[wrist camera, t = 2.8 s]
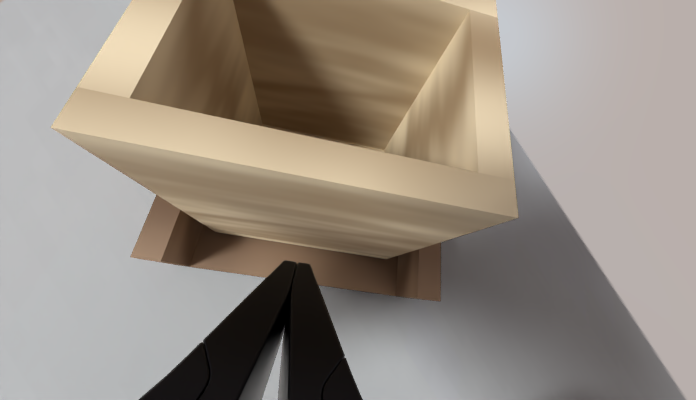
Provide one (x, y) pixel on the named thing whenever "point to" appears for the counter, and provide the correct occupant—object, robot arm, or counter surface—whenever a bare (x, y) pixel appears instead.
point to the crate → (308, 118)
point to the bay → (284, 257)
